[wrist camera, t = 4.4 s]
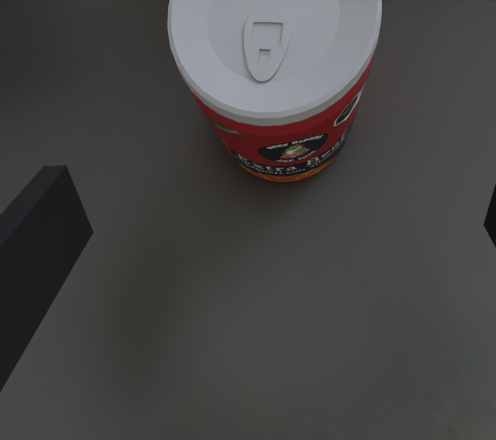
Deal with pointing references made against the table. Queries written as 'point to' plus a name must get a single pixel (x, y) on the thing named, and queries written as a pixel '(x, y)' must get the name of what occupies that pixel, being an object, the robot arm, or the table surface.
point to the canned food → (277, 75)
